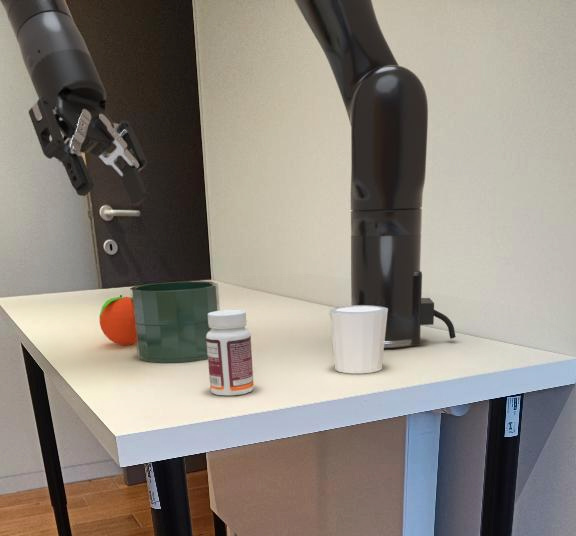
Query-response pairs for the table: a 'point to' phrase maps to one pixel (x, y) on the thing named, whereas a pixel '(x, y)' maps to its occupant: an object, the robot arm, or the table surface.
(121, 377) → the table surface
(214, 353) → the pill bottle
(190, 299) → the pot
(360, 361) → the shot glass
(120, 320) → the clementine
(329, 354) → the table surface
